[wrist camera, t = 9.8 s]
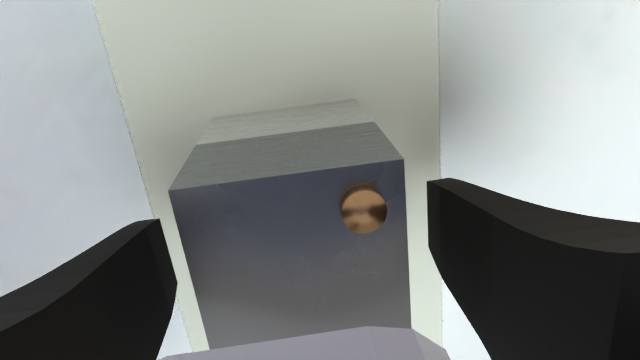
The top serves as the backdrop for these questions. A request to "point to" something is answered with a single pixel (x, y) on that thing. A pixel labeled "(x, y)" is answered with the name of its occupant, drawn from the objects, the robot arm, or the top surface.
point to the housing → (294, 224)
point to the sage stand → (278, 96)
